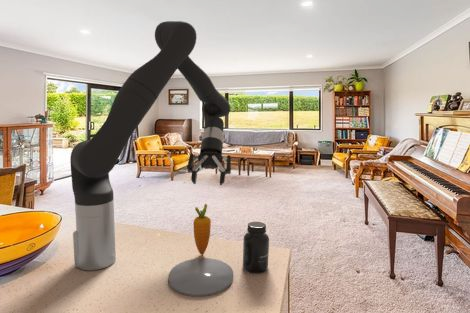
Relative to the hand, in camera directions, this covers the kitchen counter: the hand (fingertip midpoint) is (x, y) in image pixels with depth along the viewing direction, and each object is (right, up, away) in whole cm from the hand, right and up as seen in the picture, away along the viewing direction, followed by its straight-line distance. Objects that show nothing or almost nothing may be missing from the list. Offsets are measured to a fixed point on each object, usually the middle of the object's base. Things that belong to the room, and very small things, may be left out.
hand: (207, 183), depth 92 cm
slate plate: (0, -22, -20) cm, 29 cm away
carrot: (-1, -20, -8) cm, 22 cm away
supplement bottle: (+14, -21, -14) cm, 29 cm away
